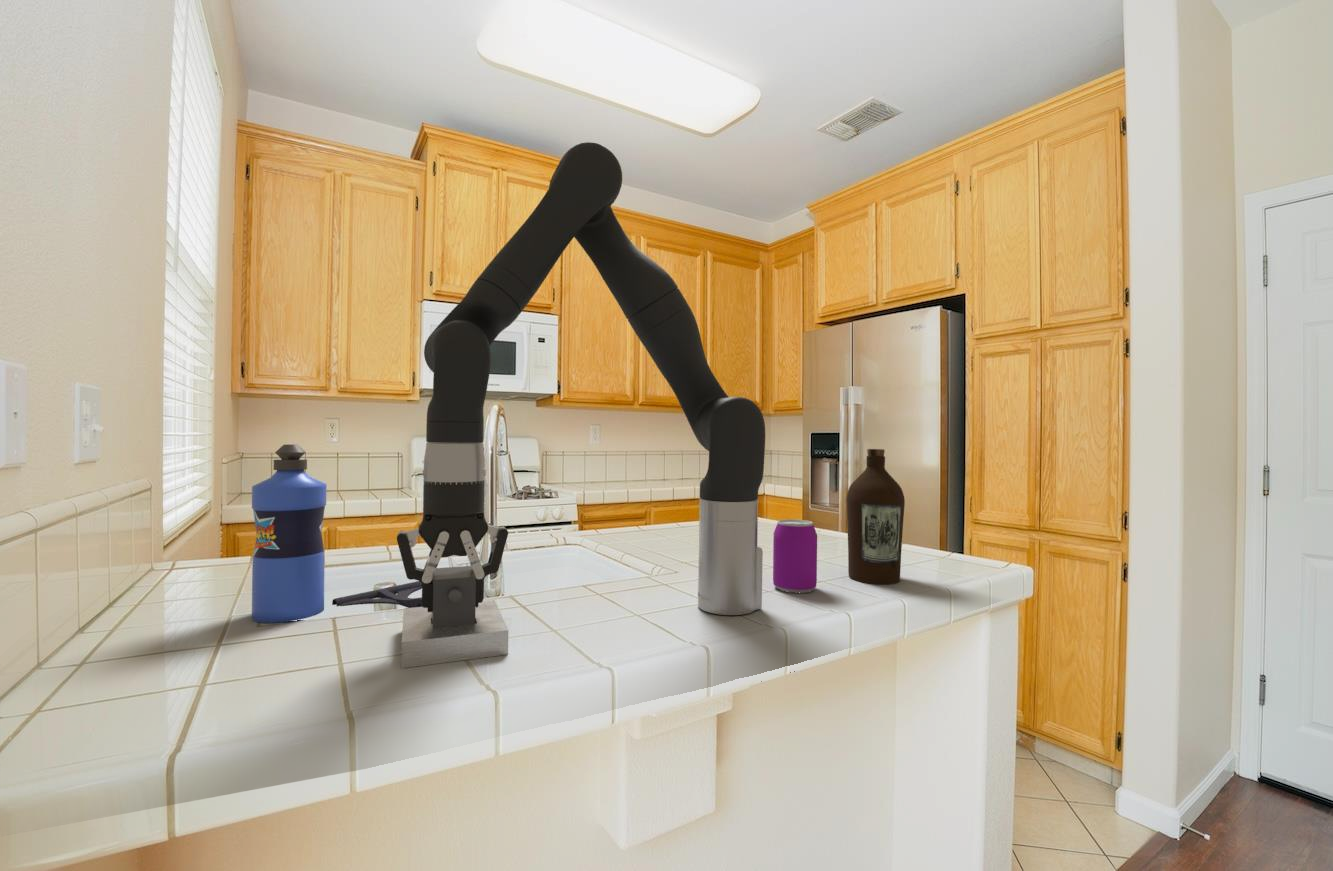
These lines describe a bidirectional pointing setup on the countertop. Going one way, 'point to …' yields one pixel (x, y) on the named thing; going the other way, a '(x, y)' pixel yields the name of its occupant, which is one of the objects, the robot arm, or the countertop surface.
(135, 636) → the countertop surface
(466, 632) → the socket plate
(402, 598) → the bracket
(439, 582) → the plug
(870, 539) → the olive oil
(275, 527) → the blue detergent bottle
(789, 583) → the beverage can
